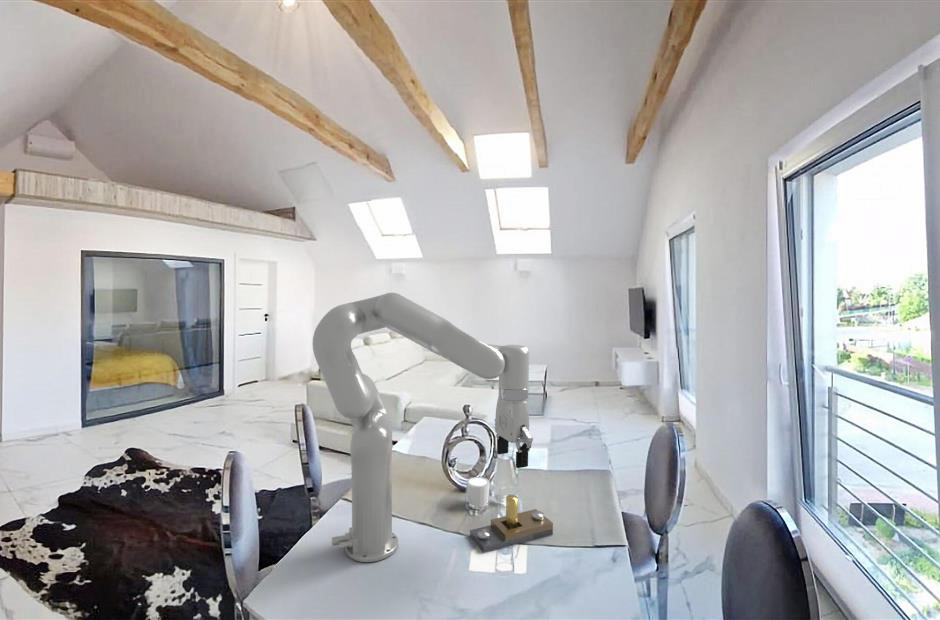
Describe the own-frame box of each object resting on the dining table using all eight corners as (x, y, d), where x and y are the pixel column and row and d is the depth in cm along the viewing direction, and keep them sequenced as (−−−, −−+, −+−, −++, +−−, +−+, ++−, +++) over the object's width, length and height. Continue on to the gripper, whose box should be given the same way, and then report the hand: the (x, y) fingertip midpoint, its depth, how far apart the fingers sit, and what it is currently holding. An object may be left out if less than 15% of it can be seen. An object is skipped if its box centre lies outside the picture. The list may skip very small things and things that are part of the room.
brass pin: (509, 539, 113) (509, 501, 112) (503, 533, 115) (504, 496, 115) (519, 537, 114) (520, 498, 113) (513, 531, 117) (514, 493, 116)
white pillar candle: (487, 511, 127) (487, 487, 126) (463, 509, 128) (464, 485, 128) (491, 500, 133) (491, 477, 133) (468, 498, 135) (469, 475, 134)
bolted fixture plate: (483, 552, 107) (483, 536, 107) (469, 535, 114) (469, 520, 114) (552, 534, 115) (553, 519, 115) (535, 519, 123) (536, 505, 122)
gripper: (484, 387, 119) (483, 450, 120) (518, 403, 104) (516, 475, 104) (509, 385, 122) (508, 446, 123) (545, 400, 107) (543, 470, 107)
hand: (511, 460), depth 114 cm, fingers open, 9 cm apart
